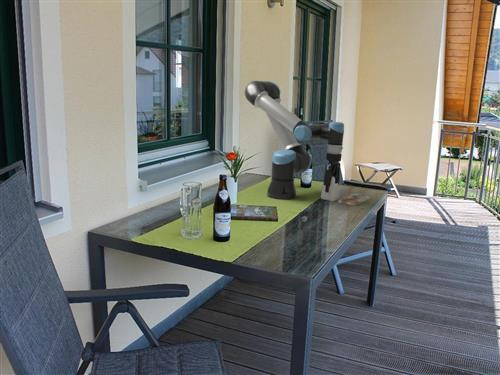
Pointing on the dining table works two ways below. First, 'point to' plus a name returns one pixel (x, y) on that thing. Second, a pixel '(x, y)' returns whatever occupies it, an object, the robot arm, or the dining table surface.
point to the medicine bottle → (332, 190)
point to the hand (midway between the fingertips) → (330, 196)
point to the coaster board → (353, 199)
